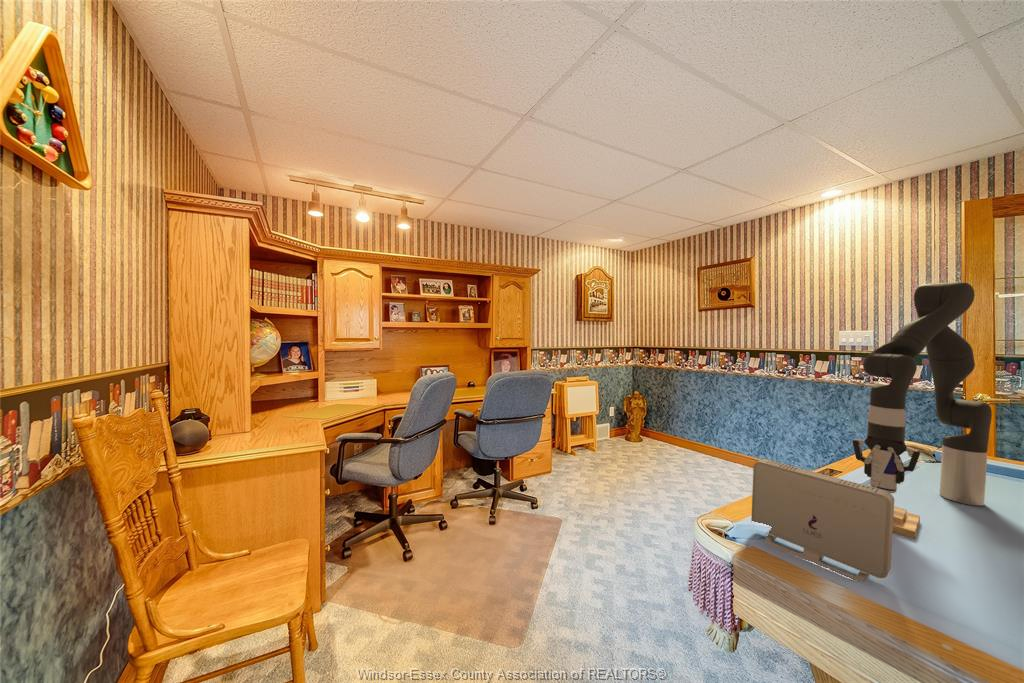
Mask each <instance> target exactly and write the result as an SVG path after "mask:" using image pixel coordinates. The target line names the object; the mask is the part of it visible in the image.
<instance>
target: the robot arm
mask: <svg viewBox="0 0 1024 683" xmlns="http://www.w3.org/2000/svg"><path fill="white" fill-rule="evenodd" d="M974 300H975V290H974V287H973V285H971V284H970V283H968V282H962V281H961V282H960V281H959V282H958V281H954V282H953V281H952V282H942V283H941V282H938V283H925V284H920V285H919V286H918V287H916V289H915V290H914V294H913V302H914V308H915V311H916V314H917V316H918V318H917V319H915V320H913V321H910V322H908V323H907V324H905V325H904V326H902V327H901V328H900V329H898V330H897V332H895V334H894V335H893V336H892V337H891V339H890V340H889V341H887V342H886V343H884V344H882V345H881V346H879V347H878V348H876V349H874V350H873V351H871V352H870V353H869V354H868V355H867V356H866V357H865V358H864V360H863V363H862V364H863V365H862V366H863V367H862V368H863V370H864V372H865V373H866V374H868V375H869V376H871V377H874V378H875V377H876V378H885V379H891V381H890V382H889V383H888V384H887V385H886V384H884V385H875V386H872V387H871V389H870V398H869V409H868V413H867V414H868V415H867V433H866V435H867V436H866V438H865V439H859V438H855V439H853V440H852V446H853V450H854V455H855V458H856V460H857V461H861V463H863V464H864V468H863V473H864V475H866V477H868V478H870V477H871V461H872V458H873V454H874V450H876V449H879V450H885V451H891V452H892V453H894V455H895V458H896V459H895V460H894V462H895V463H896V466H897V469H898V470H897V477H896V483H897V485H901V483H904V482H905V474H906V472H914V470H915V468H916V466H917V463H918V460H919V458H920V455H921V453H922V452H921V450H919V449H913V448H909V447H907V445H906V442H905V439H906V421H907V418H906V416H907V415H906V395H907V392H908V389H909V387H910V385H911V382H912V380H913V379H914V377H915V375H916V373H917V368H918V366H917V363H916V360H915V359H914V358H917V357H918V356H919V355H920V354H921V353H922V352H923V351H924V349H925V348H926V353H927V358H928V364H929V368H930V371H931V374H932V380H933V387H934V395H935V398H934V399H935V408H936V409H935V410H936V415H937V418H938V421H940V423H941V424H943V425H947V426H951V427H957V428H963V429H970V431H969V432H968V433H966V434H961V435H960V434H959V435H946V436H945V435H944V436H943V437H942V442H941V444H942V445H941V446H942V447H941V462H940V479H939V480H940V482H939V495H940V496H941V497H943V498H945V499H947V500H950V501H953V502H957V503H959V504H965V505H970V506H977V507H979V506H980V507H981V506H984V505H985V498H986V483H987V482H986V481H987V462H988V448H989V447H988V446H989V439H990V430H991V423H992V415H993V414H992V413H993V411H992V408H991V406H990V404H989V403H987V402H983V401H980V400H979V401H978V400H977V401H976V400H971V399H970V400H968V399H960V398H955V397H954V391H955V389H956V388H957V387H958V386H959V384H961V383H962V382H963V381H964V380H965V379H967V377H968V376H970V375H971V373H972V372H974V369H975V366H976V363H975V356H974V350H973V348H972V345H971V344H970V343H969V342H968V341H967V340H966V339H965V338H963V337H962V336H961V335H960V334H959V333H957V332H956V331H955V330H953V329H952V328H951V327H950V324H952V323H954V321H955V320H957V319H958V318H959V317H961V316H962V315H963V314H964V313H966V312H967V311H968V310H969V309H970V307H971V306H972V304H973V303H974ZM864 444H865V446H867V448H868V449H869V450H870V451H869V453H868V455H867V456H864V454H863V450H862V447H863V446H864ZM905 452H907V455H908V457H910V461H909V463H908V465H905V464H904V463H903V461H902V457H901V456H900V455H902V454H904V453H905Z"/></svg>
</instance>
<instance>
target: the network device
mask: <svg viewBox="0 0 1024 683" xmlns="http://www.w3.org/2000/svg"><path fill="white" fill-rule="evenodd" d="M752 468H753V469H752V495H751V497H752V498H751V517H750V518H751V521H754V522H758V523H763V524H766V525H769V526H771V527H772V528H771V530H770V531H769V533H767V535H768V536H767V535H766V536H765V542H766V543H767V544H768V545H769V546H771V547H772V548H775V549H776V550H780V551H782V552H784V553H787V554H788V553H789V555H790V556H793V555H794V556H793V557H795V556H797V557H796V558H798V557H799V558H798V559H800V558H802V559H805V560H808V561H811V562H814V563H816V564H818V565H820V566H823V567H825V568H829V569H830V570H832V571H835V572H837V573H839V574H841V575H844V576H846V577H849V578H851V579H853V580H852V581H854V580H857V581H856V582H865V581H866V579H867V578H868V576H872V577H875V578H876V579H885V578H887V577H888V575H889V573H890V572H891V569H892V556H893V555H892V552H893V551H892V550H893V537H894V536H893V535H894V533H893V517H894V507H895V498H894V496H893V495H892V493H889V492H887V491H885V490H881V489H878V488H874V487H871V486H869V485H865V484H863V483H862V484H861V483H858V482H854V481H851V480H847V479H843V478H838V477H835V476H831V475H827V474H823V473H820V472H815V471H813V470H812V471H811V470H808V469H804V468H801V467H797V466H793V465H788V464H786V463H782V462H778V461H774V460H770V459H767V458H765V459H764V458H762V459H760V460H758V461H756V462H755V463H754V464H753V467H752ZM776 538H778V539H781V540H783V541H785V542H788V543H791V544H793V545H796V546H798V547H799V548H800V547H801V548H802V549H803V552H802V553H801V552H796V551H793V550H792V549H789V548H786V547H784V546H783V545H780V544H778V543H776V542H773V540H775V539H776ZM822 556H823V557H825V558H827V559H830V560H833V561H835V562H837V563H840V564H843V565H845V566H847V567H850V568H852V569H855V570H857V571H859V572H858V573H857V575H852V574H849V573H847V572H844V571H841V570H839V569H836V568H834V567H832V566H830V565H827V564H825V563H823V562H821V559H822V558H823V557H822ZM821 557H822V558H821ZM802 559H801V560H802ZM805 560H804V561H805Z"/></svg>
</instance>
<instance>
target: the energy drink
mask: <svg viewBox="0 0 1024 683" xmlns="http://www.w3.org/2000/svg"><path fill="white" fill-rule="evenodd" d="M895 459H896V458H895V455H894V453H892V452H891V451H885V450H879V449H876V450H874V454H873V458H872V461H871V477H869V478H870V480H869V481H870V482H869V485H870V487H874V488H878V489H881V490H885V491H887V492H889V493H890V494H896V493H897V490H898V484H897V483H896V477H897V470H898V469H897V466H896V463H895V462H894V460H895Z"/></svg>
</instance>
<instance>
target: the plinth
mask: <svg viewBox="0 0 1024 683" xmlns="http://www.w3.org/2000/svg"><path fill="white" fill-rule="evenodd" d="M920 518H921V516H920V515H919V514H914V513H911V512H908V511H907V509H905V508H901V507H897V506H894V517H893V534H897V535H899V536H902V537H903V536H904V537H907V538H910V539H912V540H915V539H916V536H917V532H918V530H919V526H920V522H921V520H920Z"/></svg>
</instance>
